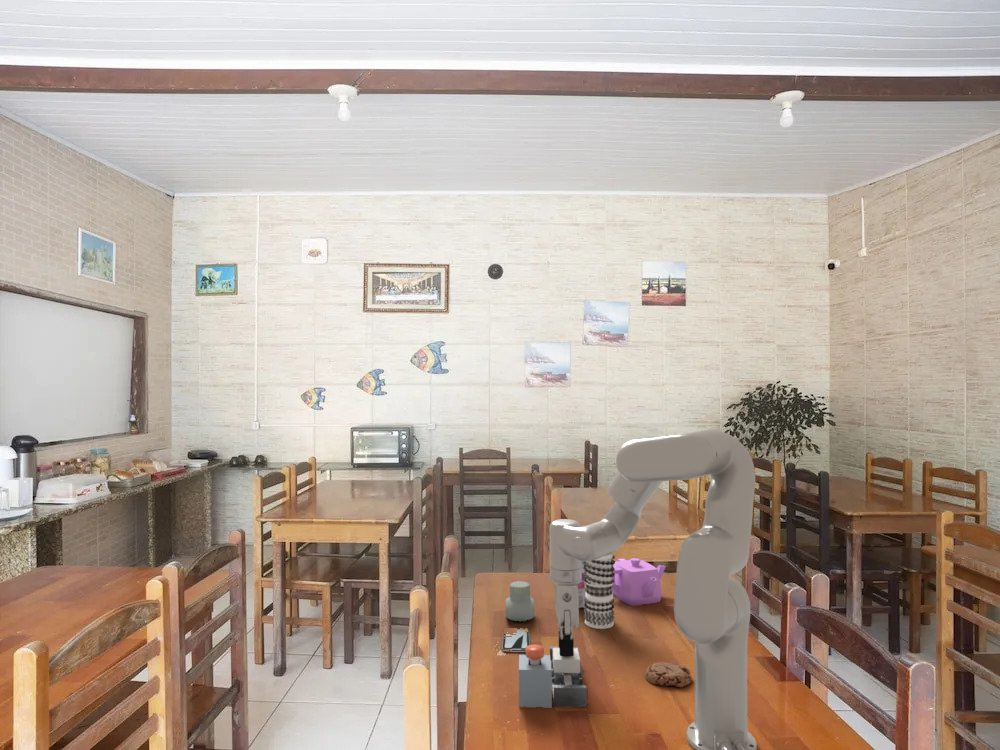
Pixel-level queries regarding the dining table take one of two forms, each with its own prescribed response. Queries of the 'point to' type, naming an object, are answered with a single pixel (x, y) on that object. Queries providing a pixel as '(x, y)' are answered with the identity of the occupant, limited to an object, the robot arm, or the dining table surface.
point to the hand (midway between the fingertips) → (566, 651)
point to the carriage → (566, 662)
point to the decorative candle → (599, 592)
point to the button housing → (535, 682)
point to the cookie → (668, 674)
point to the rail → (568, 688)
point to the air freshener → (519, 602)
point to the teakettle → (637, 581)
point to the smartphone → (516, 641)
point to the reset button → (534, 653)
